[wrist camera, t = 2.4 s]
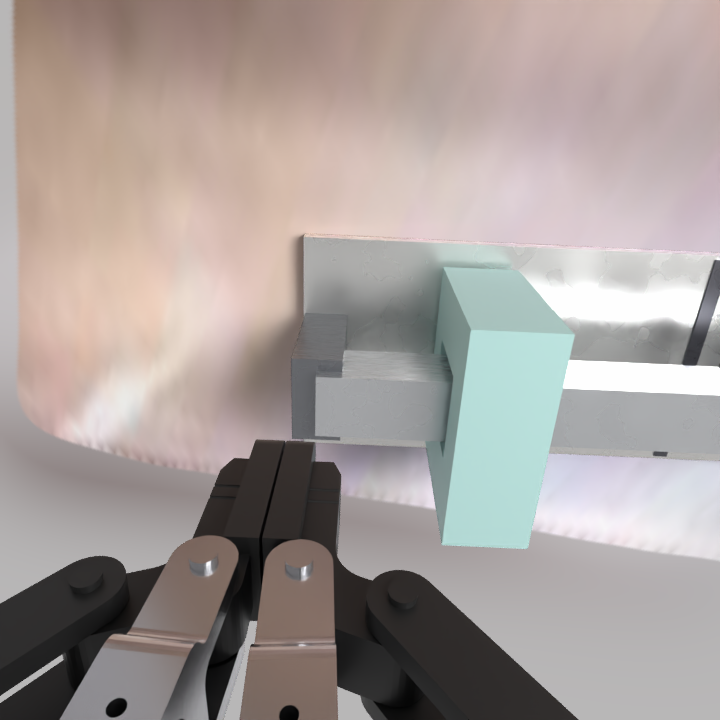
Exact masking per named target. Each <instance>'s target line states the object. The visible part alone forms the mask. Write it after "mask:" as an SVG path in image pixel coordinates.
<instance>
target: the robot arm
mask: <svg viewBox="0 0 720 720" xmlns="http://www.w3.org/2000/svg"><path fill="white" fill-rule="evenodd" d="M315 453H316V447H315V442H305V441H287V442H285V441H279V440H256V441H255V444H254V447H253V450H252V452H251V455H250V458H249V459H242V458H234V459H233V460H231V461H230V462H229V463H228V464H227V465H226V466H225V467H224V468H222V469H221V471H220V473H219V475H218V478H217V480H216V483H215V487H214V488H213V490H212V493H211V495H210V499H209V500H208V502H207V505H206V507H205V510H204V512H203V515H202V517H201V519H200V522H199V524H198V527H197V529H196V531H195V534H194V536H193V539H191V540H188V541H186V542H185V543H183V544H181V545H180V546H179V547H178V548H177V549H176V550H175V551H174V552H173V553H172V555H171V557H170V558H169V560H168V562H167V563H166V564H164V565H161V566H159V567H155V568H151V569H146V570H142V571H136V572H131V573H127V574H126V570H125V568H124V566H123V564H122V563H121V562H120V561H118V560H117V559H114V558H112V557H107V556H94V557H88V558H85V559H81V560H79V561H76V562H74V563H72V564H70V565H68V566H66V567H65V568H63V569H61V570H59V571H57V572H56V573H54V574H52V575H50V576H49V577H47V578H45V579H43V580H41V581H40V582H38V583H36V584H34V585H33V586H31V587H29V588H27V589H25V590H24V591H22V592H20V593H18V594H17V595H15V596H13V597H11V598H10V599H8V600H6V601H4V602H2V603H1V604H0V696H1V695H2V694H3V693H5V692H6V691H8V690H9V689H11V688H12V687H14V686H15V685H17V684H18V683H20V682H21V681H23V680H24V679H26V678H27V677H29V676H30V675H32V674H33V673H35V672H36V671H38V670H39V669H41V668H42V667H44V666H45V665H47V664H48V663H50V662H51V661H53V660H54V659H56V658H57V657H58V656H60V655H63V659H64V660H63V661H62V662H60V663H59V664H57V665H56V666H54V667H53V668H51V669H50V670H48V671H47V672H45V673H44V674H43V675H41V676H40V677H38V678H37V679H35V680H34V681H32V682H31V683H29V684H28V685H26V686H25V687H23V688H22V689H21V690H19V691H18V692H16V693H15V694H13V695H12V696H10V697H9V698H7V699H6V700H4V701H3V702H1V703H0V720H224V717H225V714H226V711H227V707H228V704H229V701H230V698H231V695H232V691H233V688H234V685H235V682H236V679H237V675H238V672H239V669H240V666H241V663H242V660H243V656H244V652H245V647H244V646H245V645H244V641H245V638H246V634H247V630H248V626H249V622H250V621H257V629H256V637H255V643H254V644H252V645H251V646H250V650H249V656H248V663H247V669H246V677H245V684H244V692H243V699H242V706H241V714H240V720H338V706H337V705H338V703H337V686H338V687H340V688H343V689H345V690H348V691H350V692H353V693H355V694H358V695H360V696H361V700H362V703H363V705H364V707H365V709H366V711H367V712H368V714H369V715H370V716H371V718H372V719H373V720H578V719H577V718H576V717H575V716H574V715H573V714H572V713H571V712H569V711H568V710H567V709H566V708H565V707H564V706H563V705H562V704H561V703H560V702H558V700H556V699H555V698H554V697H553V696H552V695H551V694H550V693H549V692H548V691H547V690H546V689H545V688H544V687H542V686H541V685H540V684H539V683H538V682H537V681H536V680H535V679H534V678H533V677H532V676H531V675H529V674H528V673H527V672H526V671H525V670H524V669H523V668H522V667H521V666H520V665H519V664H518V663H516V662H515V661H514V660H513V659H512V658H511V657H510V656H509V655H508V654H506V652H505V651H504V650H502V649H501V648H500V647H499V646H498V645H497V644H496V643H495V642H494V641H493V640H492V639H491V638H489V637H488V636H487V635H486V634H485V633H484V632H483V631H482V630H481V629H480V628H479V627H478V626H476V625H475V624H474V623H473V622H472V621H471V620H470V619H469V618H468V617H467V616H466V615H465V614H464V613H462V612H461V611H460V610H459V609H458V608H457V607H456V606H455V605H454V604H453V603H451V601H449V600H448V599H447V598H446V597H445V596H444V595H443V594H442V593H441V592H440V591H439V590H438V589H436V588H435V587H434V586H433V585H432V584H431V583H430V582H429V581H428V580H426V579H425V578H424V577H422V576H420V575H418V574H416V573H413V572H410V571H404V570H393V571H388V572H385V573H383V574H380V575H379V576H377V577H376V578H375V579H374V580H373V581H372V580H368V579H365V578H362V577H360V576H357V575H355V574H353V573H351V572H350V571H348V570H347V569H346V568H345V567H344V566H343V565H342V564H341V562H340V561H339V559H338V557H337V551H338V550H337V549H338V537H339V525H340V497H341V474H340V472H339V470H338V469H337V467H336V465H335V463H334V462H315Z"/></svg>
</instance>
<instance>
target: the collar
mask: <svg viewBox="0 0 720 720" xmlns="http://www.w3.org/2000/svg"><path fill="white" fill-rule="evenodd" d="M574 336H575V334H574V333H573V332H572V331H571V329H570V328H569V327H568V326H567V325H566V324H565V323H564V322H563V320H562V319H561V318H560V317H559V316H558V315H557V314H556V312H555V311H554V310H553V309H552V308H551V307H550V306H549V304H548V303H547V302H546V301H545V300H544V299H543V298H542V297H541V295H540V294H539V293H538V292H537V291H536V290H535V289H534V287H533V286H532V285H531V284H530V283H529V282H528V281H527V280H526V278H525V277H524V276H523V275H522V274H521V273H520V272H519V270H500V269H478V268H456V267H443V274H442V283H441V292H440V302H439V311H438V320H437V329H436V339H435V348H434V354H443V355H447V357H448V361H449V364H450V367H451V371H452V374H453V385H452V393H451V401H450V409H449V417H448V425H447V433H446V441H445V442H438V441H425V444H426V450H427V456H428V462H429V469H430V475H431V481H432V487H433V493H434V500H435V506H436V512H437V518H438V524H439V531H440V537H441V543H442V545H455V546H475V547H498V548H520V549H527V548H528V544H529V539H530V535H531V531H532V526H533V522H534V517H535V513H536V508H537V504H538V499H539V495H540V490H541V485H542V481H543V476H544V472H545V467H546V463H547V458H548V454H549V449H550V445H551V440H552V436H553V431H554V427H555V422H556V418H557V413H558V409H559V404H560V400H561V395H562V391H563V386H564V382H565V377H566V373H567V368H568V364H569V359H570V355H571V350H572V346H573V341H574Z"/></svg>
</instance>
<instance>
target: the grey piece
mask: <svg viewBox="0 0 720 720" xmlns="http://www.w3.org/2000/svg"><path fill="white" fill-rule="evenodd" d="M443 267H456V268H478V269H500V270H519V272H520V273H521V274H522V275H523V276H524V277H525V278H526V280H527V281H528V282H529V283H530V284H531V285H532V286H533V287H534V289H535V290H536V291H537V292H538V293H539V294H540V295H541V297H542V298H543V299H544V300H545V301H546V302H547V303H548V304H549V306H550V307H551V308H552V309H553V310H554V311H555V312H556V314H557V315H558V316H559V317H560V318H561V319H562V320H563V322H564V323H565V324H566V325H567V326H568V327H569V328H570V329H571V331H572V332H573V333H574V334H575V336H574V341H573V346H572V350H571V355H570V359H569V364H568V368H567V373H566V377H565V382H564V386H563V391H562V395H561V400H560V404H559V409H558V413H557V418H556V422H555V427H554V431H553V436H552V440H551V445H550V449H549V453H555V454H577V455H599V456H621V457H644V458H666V459H688V460H710V461H720V253H717V252H695V251H673V250H652V249H630V248H608V247H586V246H564V245H542V244H520V243H499V242H477V241H455V240H433V239H411V238H389V237H367V236H345V235H324V234H305V235H304V319H303V322H302V326H301V329H300V332H299V335H298V338H297V342H296V345H295V348H294V351H293V354H292V358H291V381H292V439H304V441H305V442H315V443H333V444H355V445H378V446H400V447H422V448H426V444H425V441H438V442H445V441H446V433H447V425H448V417H449V409H450V401H451V393H452V385H453V374H452V371H451V367H450V364H449V361H448V357H447V355H443V354H434V348H435V339H436V329H437V320H438V311H439V302H440V292H441V283H442V274H443Z"/></svg>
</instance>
